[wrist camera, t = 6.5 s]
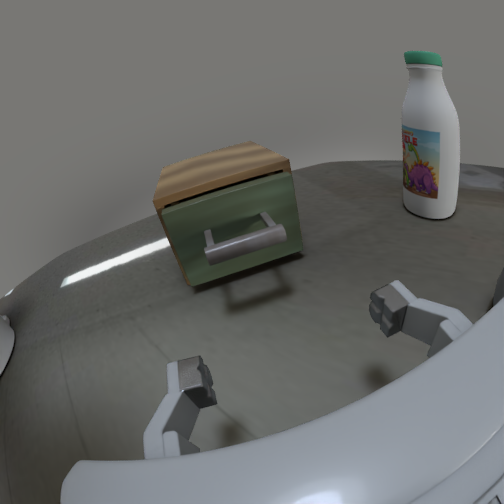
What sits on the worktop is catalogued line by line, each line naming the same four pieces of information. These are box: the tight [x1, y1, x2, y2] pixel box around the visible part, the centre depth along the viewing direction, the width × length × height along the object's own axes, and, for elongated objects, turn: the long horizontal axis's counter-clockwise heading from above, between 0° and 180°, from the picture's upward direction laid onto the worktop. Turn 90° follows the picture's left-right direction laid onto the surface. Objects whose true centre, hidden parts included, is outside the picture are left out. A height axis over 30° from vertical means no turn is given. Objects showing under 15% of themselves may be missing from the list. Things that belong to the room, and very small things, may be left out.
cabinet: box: [153, 141, 303, 285], centre depth 31 cm, size 15×13×10 cm
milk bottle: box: [402, 51, 460, 219], centre depth 24 cm, size 8×8×20 cm
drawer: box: [161, 172, 303, 286], centre depth 28 cm, size 18×11×8 cm, turn 15°
